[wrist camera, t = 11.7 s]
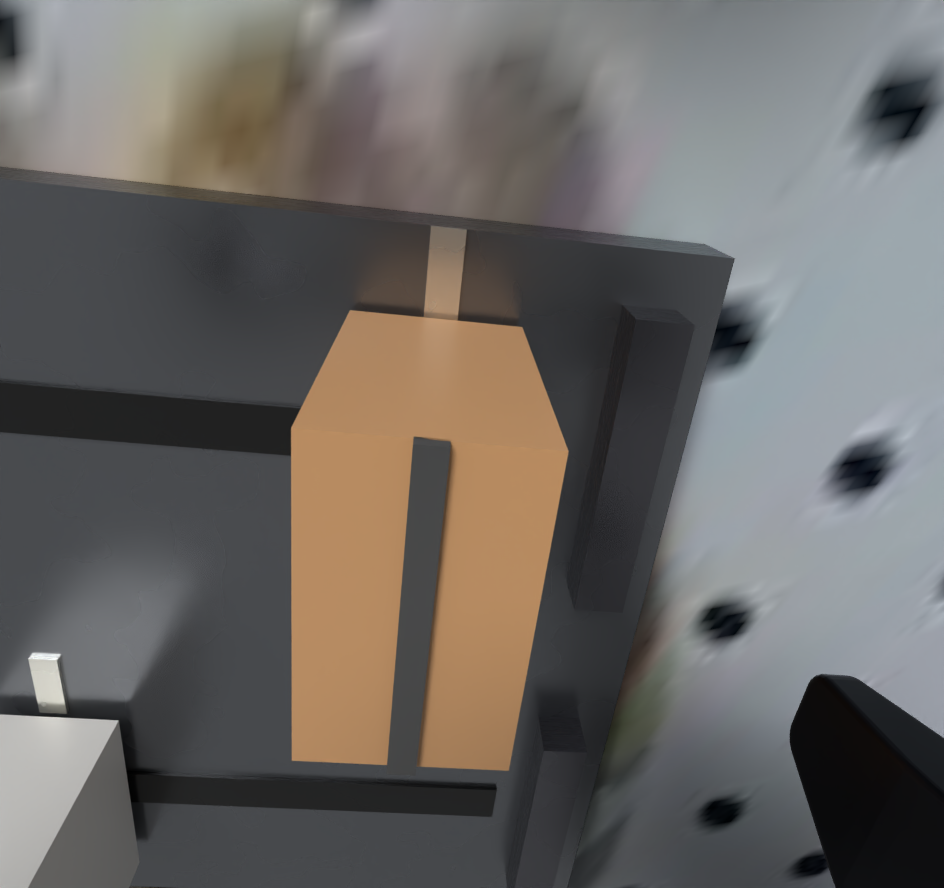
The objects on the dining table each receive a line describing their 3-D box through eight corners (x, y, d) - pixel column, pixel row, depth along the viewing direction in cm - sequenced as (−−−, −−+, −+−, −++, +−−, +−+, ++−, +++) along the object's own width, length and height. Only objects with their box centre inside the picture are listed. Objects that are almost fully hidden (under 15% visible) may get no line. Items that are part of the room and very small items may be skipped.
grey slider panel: (556, 849, 21) (569, 937, 19) (-68, 826, 19) (-136, 918, 17) (705, 244, 13) (758, 269, 11) (-298, 134, 12) (-473, 136, 10)
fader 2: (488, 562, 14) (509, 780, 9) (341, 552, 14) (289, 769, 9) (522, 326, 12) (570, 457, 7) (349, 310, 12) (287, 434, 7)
